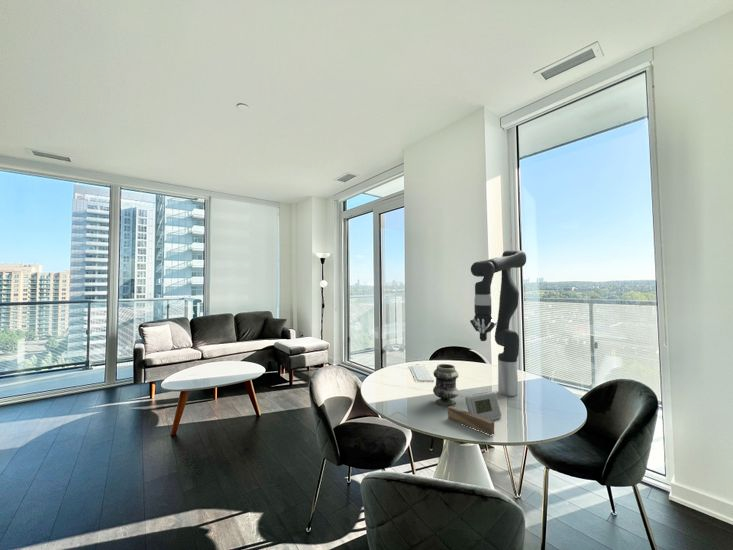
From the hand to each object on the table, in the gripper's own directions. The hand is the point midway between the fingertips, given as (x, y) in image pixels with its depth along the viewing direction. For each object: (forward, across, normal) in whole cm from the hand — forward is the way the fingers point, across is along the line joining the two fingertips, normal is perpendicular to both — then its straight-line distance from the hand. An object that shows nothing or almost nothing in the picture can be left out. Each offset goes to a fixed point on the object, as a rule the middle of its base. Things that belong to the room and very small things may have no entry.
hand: (483, 340), depth 154 cm
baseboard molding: (+32, +55, -16) cm, 65 cm away
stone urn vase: (+31, +14, +10) cm, 36 cm away
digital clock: (+31, -8, +13) cm, 35 cm away
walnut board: (+31, -8, +23) cm, 39 cm away
